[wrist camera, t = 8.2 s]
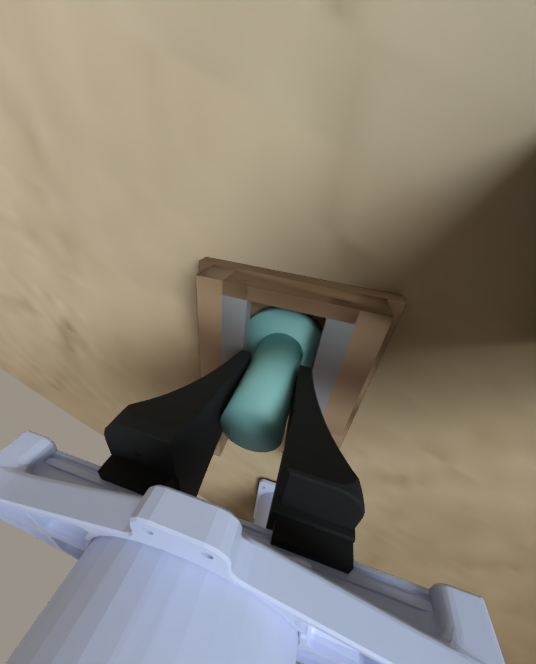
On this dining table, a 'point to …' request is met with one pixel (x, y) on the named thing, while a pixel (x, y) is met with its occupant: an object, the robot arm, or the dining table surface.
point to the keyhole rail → (306, 297)
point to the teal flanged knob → (270, 377)
